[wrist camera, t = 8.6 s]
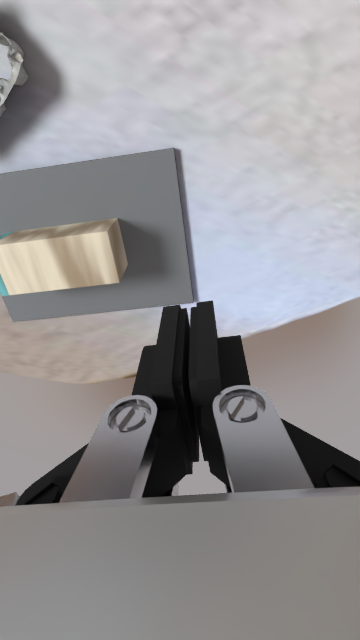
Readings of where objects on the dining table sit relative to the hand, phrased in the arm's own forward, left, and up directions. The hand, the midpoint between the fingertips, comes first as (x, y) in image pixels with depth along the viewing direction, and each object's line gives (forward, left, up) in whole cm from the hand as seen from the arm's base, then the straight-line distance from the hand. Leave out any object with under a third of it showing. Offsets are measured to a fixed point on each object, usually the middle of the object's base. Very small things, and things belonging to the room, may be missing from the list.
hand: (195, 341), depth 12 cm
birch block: (+8, +3, -22) cm, 24 cm away
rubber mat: (+12, +3, -25) cm, 28 cm away
